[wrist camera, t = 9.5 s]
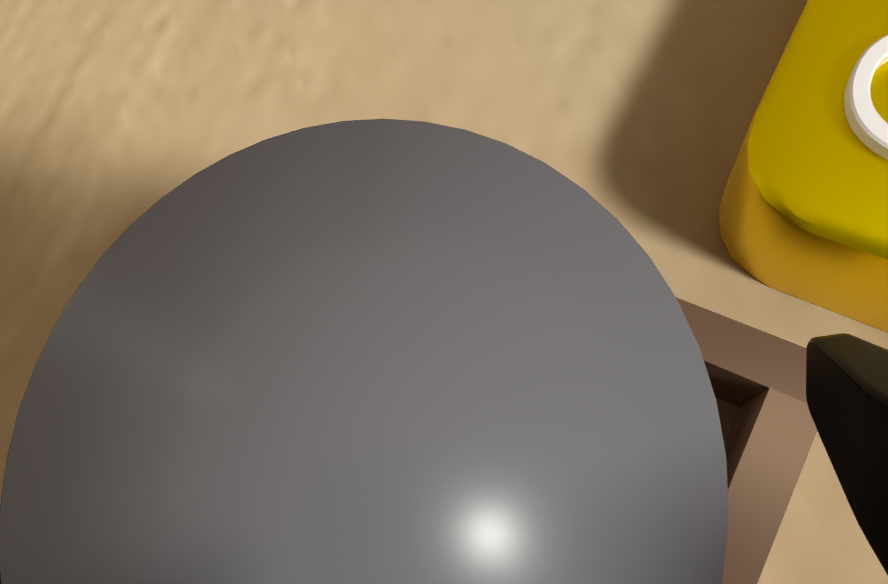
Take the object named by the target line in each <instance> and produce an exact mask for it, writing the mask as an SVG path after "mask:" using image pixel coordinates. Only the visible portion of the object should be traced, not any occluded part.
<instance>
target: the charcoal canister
mask: <svg viewBox="0 0 888 584" xmlns="http://www.w3.org/2000/svg"><path fill="white" fill-rule="evenodd" d="M728 519H729V516H728V489H727V461H726V453H725V447H724V442H723V436H722V430H721V424H720V418H719V412H718V407H717V401H716V398H715V395H714V392H713V388H712V385H711V382H710V379H709V376H708V372H707V369H706V366H705V363H704V360H703V356H702V353H701V350H700V347H699V345H698V343H697V341H696V339H695V337H694V335H693V332H692V330H691V328H690V326H689V324H688V322H687V320H686V317H685V315H684V313H683V311H682V309H681V307H680V305H679V303H678V300H677V299H676V297H675V296H674V294H673V293H672V291H671V289H670V288H669V286H668V285H667V283H666V282H665V280H664V279H663V277H662V275H661V274H660V272H659V271H658V269H657V268H656V266H655V265H654V263H653V261H652V260H651V258H650V257H649V256H648V255H647V253H646V252H645V251H644V250H643V249H642V247H641V246H640V245H639V244H638V243H637V242H636V240H635V239H634V238H633V237H632V236H631V235H630V233H629V232H628V231H627V230H626V229H625V228H624V226H623V225H622V224H621V223H620V222H619V221H618V219H616V218H615V217H614V216H613V215H612V214H611V213H610V212H609V211H607V210H606V209H605V208H604V207H603V206H602V205H601V204H600V203H598V202H597V201H596V200H595V199H594V198H593V197H592V196H591V195H589V194H588V193H587V192H586V191H585V190H584V189H583V188H581V187H580V186H578V185H577V184H575V183H574V182H572V181H571V180H569V179H568V178H566V177H565V176H564V175H562V174H561V173H559V172H558V171H556V170H555V169H553V168H552V167H550V166H549V165H547V164H546V163H544V162H542V161H540V160H538V159H536V158H534V157H532V156H530V155H528V154H526V153H524V152H522V151H520V150H518V149H516V148H514V147H512V146H510V145H508V144H505V143H503V142H500V141H497V140H494V139H491V138H488V137H485V136H482V135H479V134H476V133H473V132H470V131H467V130H463V129H458V128H453V127H448V126H443V125H438V124H433V123H428V122H421V121H407V120H393V119H373V120H354V121H341V122H336V123H330V124H324V125H318V126H313V127H307V128H303V129H299V130H296V131H293V132H289V133H286V134H283V135H279V136H276V137H273V138H269V139H266V140H263V141H261V142H259V143H256V144H254V145H252V146H249V147H247V148H245V149H242V150H240V151H238V152H235V153H233V154H231V155H229V156H227V157H225V158H223V159H221V160H220V161H218V162H216V163H214V164H213V165H211V166H209V167H207V168H206V169H204V170H202V171H200V172H198V173H197V174H195V175H193V176H192V177H190V178H189V179H188V180H186V181H185V182H183V183H182V184H181V185H179V186H178V187H176V188H175V189H174V190H172V191H171V192H169V193H168V194H167V195H165V196H164V197H162V198H161V199H160V200H159V201H158V202H156V203H155V204H154V205H153V206H152V207H151V208H150V209H149V210H147V211H146V212H145V213H144V214H143V215H142V216H141V217H140V218H138V219H137V220H136V221H135V222H134V223H133V224H132V225H130V226H129V228H128V229H127V230H126V231H125V232H124V233H123V234H122V235H121V236H120V237H119V238H118V239H117V241H116V242H115V243H114V244H113V245H112V246H111V247H110V248H109V249H108V250H107V251H106V252H105V254H104V255H103V256H102V257H101V258H100V259H99V261H98V262H97V263H96V265H95V266H94V267H93V269H92V270H91V271H90V273H89V274H88V275H87V277H86V278H85V279H84V281H83V282H82V283H81V285H80V286H79V287H78V289H77V290H76V292H75V293H74V295H73V296H72V298H71V300H70V301H69V303H68V305H67V306H66V308H65V310H64V311H63V313H62V315H61V316H60V318H59V320H58V321H57V323H56V324H55V326H54V328H53V330H52V332H51V334H50V336H49V338H48V340H47V342H46V344H45V346H44V349H43V351H42V353H41V355H40V357H39V359H38V361H37V363H36V365H35V367H34V370H33V373H32V376H31V378H30V381H29V384H28V387H27V389H26V392H25V395H24V398H23V400H22V403H21V406H20V409H19V412H18V416H17V420H16V424H15V428H14V432H13V436H12V439H11V443H10V447H9V451H8V456H7V463H6V469H5V476H4V483H3V489H2V496H1V510H0V575H1V584H722V579H723V569H724V559H725V549H726V539H727V529H728Z"/></svg>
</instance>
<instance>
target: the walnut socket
mask: <svg viewBox="0 0 888 584" xmlns="http://www.w3.org/2000/svg"><path fill="white" fill-rule="evenodd" d="M676 299H677V300H678V303H679V305H680V307H681V309H682V311H683V313H684V315H685V317H686V320H687V322H688V324H689V326H690V328H691V330H692V332H693V335H694V337H695V339H696V341H697V343H698V345H699V347H700V350H701V353H702V356H703V360H704V363H705V366H706V369H707V372H708V376H709V379H710V382H711V385H712V388H713V392H714V395H715V398H716V401H717V407H718V412H719V418H720V424H721V430H722V436H723V442H724V447H725V453H726V461H727V489H728V516H729V519H728V529H727V539H726V549H725V559H724V569H723V579H722V584H757V582H758V580H759V577H760V575H761V572H762V570H763V567H764V564H765V562H766V559H767V557H768V554H769V552H770V549H771V547H772V544H773V541H774V539H775V536H776V534H777V531H778V529H779V526H780V524H781V521H782V519H783V516H784V513H785V511H786V508H787V506H788V503H789V501H790V498H791V496H792V493H793V490H794V488H795V485H796V483H797V480H798V478H799V475H800V473H801V470H802V468H803V465H804V462H805V460H806V457H807V455H808V452H809V450H810V447H811V445H812V442H813V439H814V437H815V434H816V432H817V428H816V426H815V423H814V421H813V419H812V417H811V414H810V411H809V408H808V404H807V399H806V350H807V349H806V348H804V347H801V346H799V345H796V344H794V343H791V342H789V341H786V340H783V339H781V338H778V337H776V336H773V335H771V334H768V333H766V332H763V331H760V330H758V329H755V328H753V327H750V326H748V325H745V324H743V323H740V322H737V321H735V320H732V319H730V318H727V317H725V316H722V315H720V314H717V313H714V312H712V311H709V310H707V309H704V308H702V307H699V306H697V305H694V304H691V303H689V302H686V301H684V300H681V299H679V298H676Z"/></svg>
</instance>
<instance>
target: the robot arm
mask: <svg viewBox="0 0 888 584" xmlns="http://www.w3.org/2000/svg"><path fill="white" fill-rule="evenodd" d="M806 399H807V404H808V408H809V411H810V414H811V417H812V419H813V421H814V423H815V426H816V428H817V430H818V433H819V435H820V437H821V440H822V442H823V444H824V447H825V449H826V451H827V454H828V456H829V458H830V460H831V463H832V465H833V467H834V470H835V472H836V474H837V477H838V479H839V481H840V484H841V486H842V488H843V491H844V493H845V495H846V498H847V500H848V502H849V504H850V507H851V509H852V511H853V513H854V515H855V518H856V520H857V522H858V524H859V526H860V528H861V529H862V531H863V533H864V535H865V537H866V539H867V540H868V542H869V544H870V546H871V547H872V549H873V551H874V553H875V554H876V556H877V558H878V559H879V561H880V563H881V565H882V566H883V568H884V570H885V571H886V573H887V575H888V350H887V349H884V348H882V347H879V346H877V345H875V344H872V343H870V342H867V341H865V340H862V339H860V338H857V337H855V336H852V335H850V334H835V335H828V336H821V337H815V338H812V339H811V340H810V341H809V342H808V345H807V350H806ZM0 510H1V504H0ZM0 584H1V575H0Z"/></svg>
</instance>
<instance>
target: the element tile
mask: <svg viewBox="0 0 888 584" xmlns="http://www.w3.org/2000/svg"><path fill="white" fill-rule="evenodd" d="M719 214H720V235H721V237H722V239H723V242H724V244H725V246H726V248H727V250H728V252H729V254H730V256H731V258H733V259H734V260H735V261H736V262H737V263H738V264H739V265H740V266H741V267H743V268H744V269H745V270H746V271H747V272H748V273H749V274H750V275H751V276H753V277H754V278H756V279H757V280H759V281H760V282H762V283H763V284H765V285H767V286H768V287H771V288H773V289H776V290H779V291H781V292H784V293H786V294H789V295H792V296H794V297H797V298H799V299H802V300H805V301H807V302H810V303H812V304H815V305H818V306H820V307H823V308H825V309H828V310H831V311H833V312H836V313H839V314H841V315H844V316H846V317H849V318H852V319H854V320H857V321H859V322H862V323H865V324H867V325H870V326H872V327H875V328H878V329H880V330H883V331H885V332H888V0H807V3H806V5H805V7H804V9H803V11H802V13H801V15H800V17H799V20H798V22H797V24H796V26H795V28H794V30H793V32H792V35H791V37H790V39H789V41H788V43H787V45H786V47H785V50H784V52H783V54H782V56H781V58H780V60H779V62H778V64H777V67H776V69H775V71H774V73H773V75H772V77H771V79H770V82H769V84H768V86H767V88H766V90H765V92H764V94H763V96H762V99H761V101H760V103H759V105H758V107H757V109H756V111H755V114H754V116H753V118H752V120H751V123H750V125H749V128H748V130H747V133H746V135H745V138H744V141H743V143H742V146H741V148H740V151H739V153H738V156H737V158H736V161H735V163H734V166H733V169H732V171H731V174H730V176H729V179H728V181H727V184H726V186H725V190H724V193H723V197H722V201H721V204H720V208H719Z"/></svg>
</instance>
